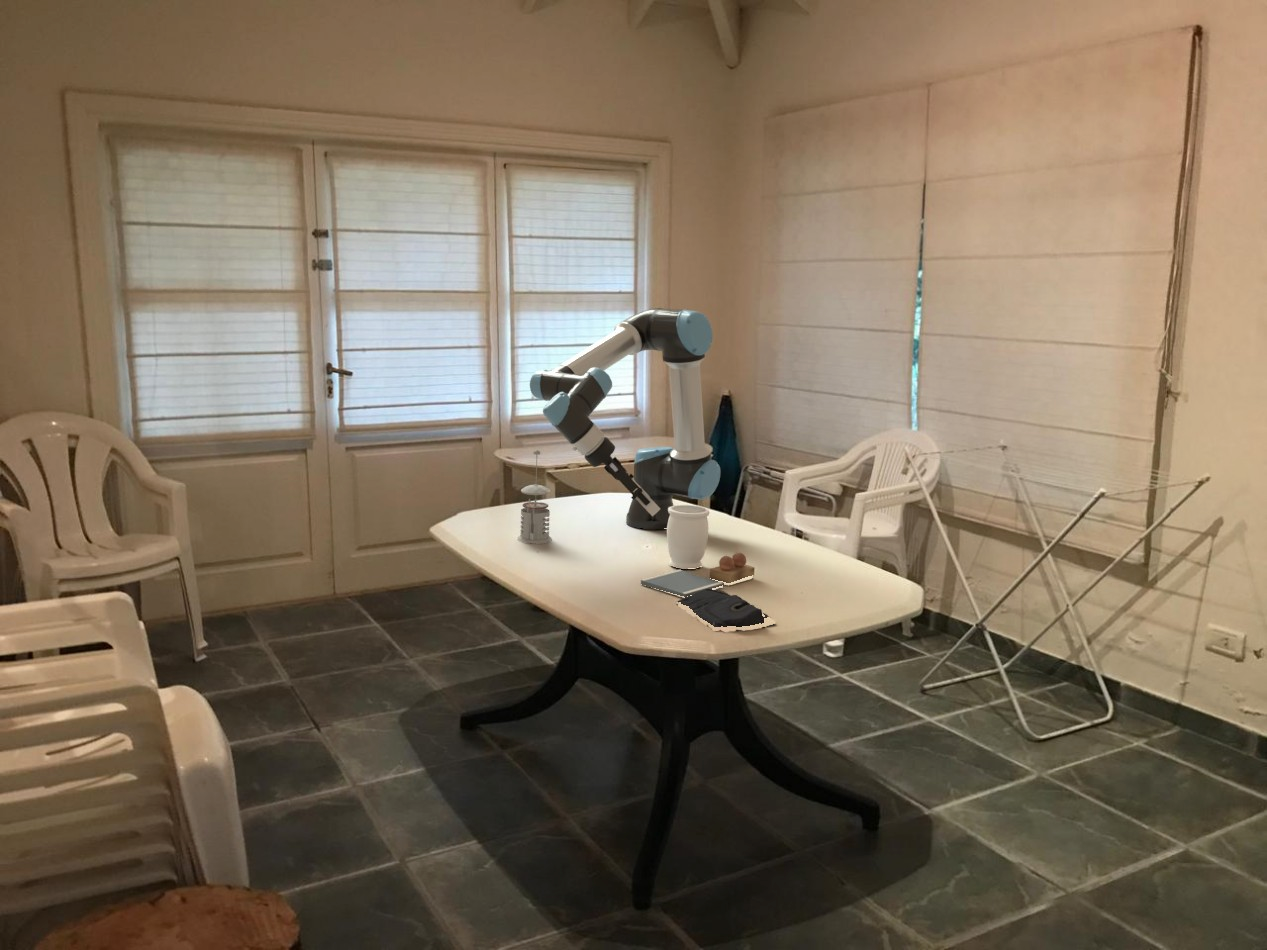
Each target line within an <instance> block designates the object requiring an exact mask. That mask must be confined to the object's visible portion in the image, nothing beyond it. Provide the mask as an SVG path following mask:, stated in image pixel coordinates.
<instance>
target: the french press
mask: <svg viewBox="0 0 1267 950" xmlns="http://www.w3.org/2000/svg"><path fill="white" fill-rule="evenodd" d="M533 455H536V457H535V458H536V459H535V461H536V463H535V484H530V485H527V486H524V487H523V488H521V490H520V491H521V493H522V494H523V495H524V494H525V495H529V496H535V499H534V501H531V498H529V499H528V501H527V502H524V503H523V504H522V507H523V508H521V510H520V519H521V520H520V524H521V525H520V535H518V536H517V538H518V540H519V541H518V540H517V541H518V542H520V541H522V542H521V543H523V542H526V543H525V544H530V543H536V544H537V545H538V544H540V545H542V544H547V543H550V542H552V541H553V538H552V537H551V536H550V515H551V514H550V513H551V511H550V509H548V507H549V504H548V503H546V502H542V501H539V502H538V501H537V496H541V495H542V496H543V495H548V494H550V493H551V489H549V487H546V486H545V485H542V484H538V483H537V481H538V477H537V476H538V455H541V451H540V450H539V449H535V450H533ZM546 517H547V518H546ZM536 544H535V545H536Z"/></svg>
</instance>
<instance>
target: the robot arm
mask: <svg viewBox="0 0 1267 950" xmlns="http://www.w3.org/2000/svg"><path fill="white" fill-rule="evenodd" d="M712 328H713V327H712V325H711V322H710V320H709V319H708V317H707V316H705V314H703V313H702V312H700V311H697V310H696V311H695V310H691V309H687V308H686V309H679V308H678V309H676V308H661V307H654V308H648V309H645V310H642V311H640V312H638V313H636V314H634V315H632V316H629V317H628V318H626V319H624V320H623V321H621V322H619V323H618V324H616V325H615V326H614V330H613V331H612V332H610V333H609V334H607V335H606V336H604V337H602V338H601V339H599V340H597V341H595V342H594V343H593V344H590V346H588V347H587V348H585V349H583V350H581V351H580V352H578V353H577V354H575V355H573V356H572V357H570V358H568V359H567V360H565V361H564V362H562V363H560V364H559V365H557V366H556V367H554V368H552V369H551V370H547V369H543V370H542V369H540V370H537V371H535V372H533V374H532V375H531V378H530V380H529V390H530V393H531V395H533V397H534V398H536V399H539V400H544V401H546V402H547V403H546V404H545V405H544V407H543V408H542V413H543V415H544V417H545V418H546V419H547V420H548V421H549V422H550V424H551V425H552V427H554V428H555V429H556V430H557V431H558V432H559V433H560V434H561V435H562V436H563V437H564V438H565V439H566V440H567V441H568V442H569V444H570V445H572V450H573V451H574V452H575V451H577V452H578V453H579V454H580V455H581V456H583V457H584V459H585V461H586V462H588V464H589V465H590V466H592V468H596V467H599V466H601V465H602V464H604V466H603V469H605V471H606V472H607V473H608V474H609V475H611V476H612V477H613V478H614V479H615V480H616V481H619V482H620V483H621V484H622V485H623V486H624V488H625V489H627V490H628V492H629V493H630V494H631V495H632V496H631V497H630V498H631V499H632V500H631V502H630V506H629V509H628V512H627V514H626V516H625V517H626V518H625V523H626V525H628V526H629V527H632V528H635V527H636V528H635V529H640V528H643V529H642V530H649V529H664V528H667V524H668V520H669V516H670V514H669V512H668V508H669V507H671V506H675V505H674V503H673V502H674V501H673V495H676V496H681V497H685V498H689V499H691V500H694V499H696V500H705V499H707V498H709V497H711V496H712V495H713V493H714V492H715V491H716V489H717V487H718V485H719V482H720V478H721V467H720V463H719V464H718V462H717V461H716V460H714V459H712V454H711V453H712V452H711V449H710V448H709V447H707V446H706V442H705V428H704V427H705V425H704V410H703V408H704V407H703V396H702V395H703V392H702V379H701V377H702V376H701V364H702V362H703V361H704V360H705V358H706V356H705V355H706V353H708V352H709V350H710V349H711V347H712V345H711V344H712V343H713V337H714V336H713V329H712ZM644 351H657V352H658V351H659V352H661V354H662V362H664V363H665V364H666V365H667V366H668V374H669V386H670V388H669V389H670V402H671V414H672V426H673V427H672V429H673V442H674V446H654V447H643V448H640V449H638V450H637V451H636V452H635V456H634V462H633V465H634V466H633V467H634V468H633V474H632V473H630V474H629V473H628V471H627V469H626V468H625V467H624V466H623V465H622V462H620V460H619V459H618V458H617V457H616V456H613V457H612V454H614V452H615V449H616V446H615V444H614V443H613V442H612V441H611V439H609V438H608V436H607V437H606V436H605V433H604V432H603V431H602V430H601V429H600V428H599V427H598V426H597V425H596V424H595V423H594V422H593V421H592V420H591V419H590V416H591V414H592V413H593V412H594V411H595V410H596V408H597V407H599V405H600V404H601V403H602V401H604V399H606V397H607V396H608V394H609V392H610V391H611V390H612V388H613V381H612V379H611V377H610V375H609V374H608V373H607V371H606V370H608V369H609V368H610V367H612V366H613V365H615V364H616V363H618V362H620V361H621V360H622V359H624V358H626V357H627V356H635V355H637V354H639V353H640V352H644ZM664 530H665V529H664Z"/></svg>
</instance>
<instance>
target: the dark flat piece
mask: <svg viewBox="0 0 1267 950" xmlns="http://www.w3.org/2000/svg"><path fill="white" fill-rule="evenodd" d="M677 602H681V604H683V605H686V606H689V608H690V609H692V610H693V612H694V613H696V615H698V616H699V617H700V618H702V619H703V620H705V621H707V622H708V623H710V624H711V625H713V626H714V627H721V626H723V627H727V626H736V627H742V626H750V625H755V624H759V623H761V624H762V623H764V618H767V617H770V616H769V615H768V614H766V613H764V612H763V610H762V608H759V607H756V606H755V605H754V604H751V603H750V602H748V601H746V599H745V600H744V599H743V598H742V597H740V596H738V595H737V594H732V595H731V594H729V593H727V592H725V591H723V590H722V589H718V590H712V589H704V590H702V591H699V592H697V593H695V594H693V595H692V596H688V597H685V598H680V600H678V601H677ZM762 613H763V614H764V615H765V617H763V616H762Z"/></svg>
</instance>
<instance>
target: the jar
mask: <svg viewBox="0 0 1267 950" xmlns="http://www.w3.org/2000/svg"><path fill="white" fill-rule="evenodd" d="M668 512H669V514H670V516H669V520H668V524H667V529H666V541H667V549H668V554H669V557H670V558H671V559H670V561H669V563H668V565H669V566H670V567H671V566H673V567H676V568H682V569H688V568H697V567H700V566H702V567H703V563H702V560H703V558H704V555H705V552H706V549H707V544H708V540H709V539H708V538H709V519H708V516H709V515H710V510H709V509H708V508H706V507H703V506H699V505H689V504H681V505H679V504H677V505H674V506H671V507H669V508H668ZM673 567H672V568H673ZM676 568H675V569H676Z"/></svg>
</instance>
